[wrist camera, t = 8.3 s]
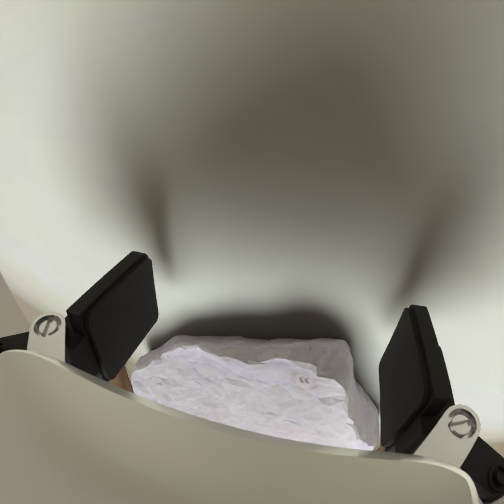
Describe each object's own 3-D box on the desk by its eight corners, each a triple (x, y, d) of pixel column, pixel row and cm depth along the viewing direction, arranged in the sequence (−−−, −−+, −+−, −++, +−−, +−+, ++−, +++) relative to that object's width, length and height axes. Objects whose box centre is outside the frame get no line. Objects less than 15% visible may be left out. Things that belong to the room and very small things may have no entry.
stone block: (151, 325, 18) (218, 437, 20) (102, 364, 14) (191, 483, 15) (340, 271, 14) (383, 418, 15) (335, 320, 9) (383, 480, 11)
